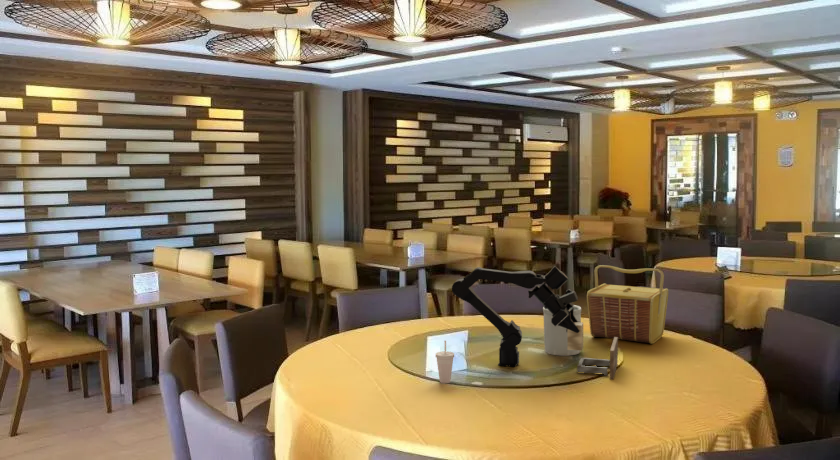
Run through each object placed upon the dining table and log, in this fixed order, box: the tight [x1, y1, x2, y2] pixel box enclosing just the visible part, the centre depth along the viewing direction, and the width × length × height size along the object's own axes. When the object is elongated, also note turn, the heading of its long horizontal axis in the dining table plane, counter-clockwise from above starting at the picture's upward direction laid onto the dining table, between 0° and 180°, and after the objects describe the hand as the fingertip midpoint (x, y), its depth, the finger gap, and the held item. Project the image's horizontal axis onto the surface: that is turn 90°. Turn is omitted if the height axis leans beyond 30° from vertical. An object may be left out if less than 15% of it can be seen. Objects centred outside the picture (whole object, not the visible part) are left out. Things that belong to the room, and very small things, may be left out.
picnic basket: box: [586, 264, 669, 345], centre depth 301 cm, size 29×26×30 cm
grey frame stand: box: [576, 337, 619, 380], centre depth 254 cm, size 13×20×10 cm, turn 161°
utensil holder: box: [542, 304, 582, 357], centre depth 280 cm, size 15×15×18 cm
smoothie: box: [435, 340, 455, 384], centre depth 243 cm, size 6×6×14 cm
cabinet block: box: [566, 321, 584, 352], centre depth 257 cm, size 6×5×9 cm
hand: (579, 330), depth 256 cm, fingers closed on cabinet block, 5 cm apart
